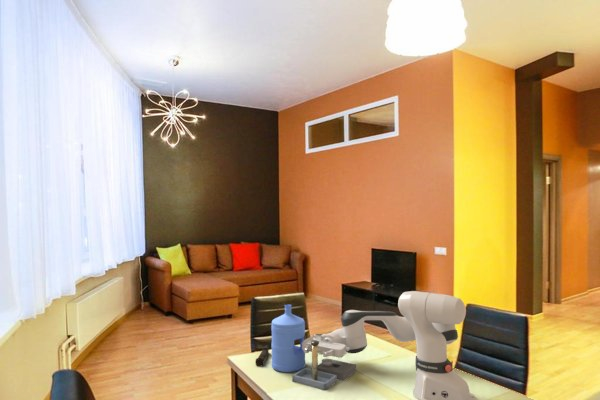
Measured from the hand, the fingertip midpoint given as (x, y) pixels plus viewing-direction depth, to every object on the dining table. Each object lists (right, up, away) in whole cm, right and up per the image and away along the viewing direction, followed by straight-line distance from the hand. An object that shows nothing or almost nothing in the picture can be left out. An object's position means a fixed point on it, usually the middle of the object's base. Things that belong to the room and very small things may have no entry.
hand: (314, 353), depth 169 cm
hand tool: (-24, -13, +26) cm, 38 cm away
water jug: (-12, -13, +16) cm, 23 cm away
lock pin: (0, -11, -1) cm, 11 cm away
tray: (0, -12, -1) cm, 12 cm away
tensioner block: (+10, -12, +8) cm, 17 cm away
